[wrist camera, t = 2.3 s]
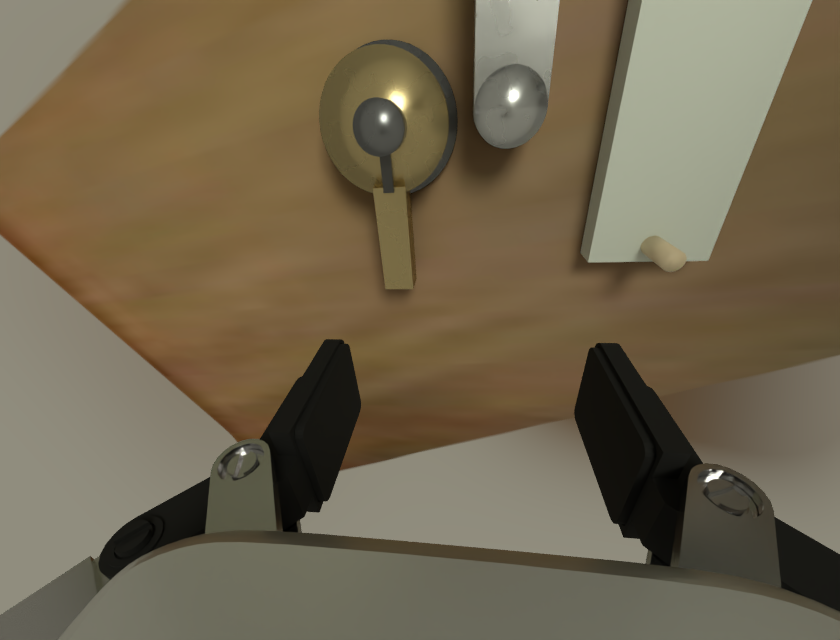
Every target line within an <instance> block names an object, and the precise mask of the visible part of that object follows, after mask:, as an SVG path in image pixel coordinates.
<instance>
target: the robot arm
mask: <svg viewBox="0 0 840 640" xmlns="http://www.w3.org/2000/svg"><path fill="white" fill-rule="evenodd" d="M360 409H361V400H360V395H359V390H358V385H357V380H356V376H355V371H354V366H353V361H352V356H351V352H350V347H349V345H348V344H344V341H343V340H333V339H326V340H325V341H324V342H323V344H322V345H321V347H320V349H319V350H318V352H317V353H316V355H315V357H314V358H313V360H312V362H311V363H310V365H309V367H308V368H307V370H306V371H305V373H304V375H303V376H302V377H300V378H298V379H297V381H296V382H295V384H294V385H293V387H292V388H291V390H290V392H289V393H288V395H287V397H286V398H285V400H284V401H283V403H282V405H281V406H280V408H279V409H278V411H277V413H276V414H275V416H274V417H273V419H272V421H271V422H270V424H269V425H268V427H267V429H266V430H265V432H264V433H263V435H262V437H261V438H260V440H259V439H248V440H244V441H240V442H238V443H236V444H234V445H232V446H230V447H229V448H228V449H226V450H225V451H224V452H223V453H222V454H221V455H220V456H219V457H218V458H217V459H216V461H215V462H214V464H213V467H212V470H211V475H210V477H209V478H207V479H206V480H204V481H202V482H200V483H198V484H196V485H195V486H193V487H191V488H189V489H187V490H185V491H184V492H182V493H180V494H178V495H176V496H174V497H173V498H171V499H169V500H167V501H165V502H163V503H162V504H160V505H158V506H156V507H154V508H153V509H151V510H149V511H147V512H145V513H144V514H141V515H140V516H138V517H136V518H134V519H133V520H131V521H130V522H128V523H127V524H125V525H124V526H123V527H122V528H121V529H119V530H118V531H117V532H116V533H115V534H114V535H113V536H112V538H111V539H110V540H109V541H108V542H107V544H106V545H105V547H104V549H103V551H102V552H101V554H100V556H99V557H97V558H96V559H93V558H92V557H91V556H90V557H88V558H86V559H85V560H83V561H82V562H81V563H79V564H77V565H76V566H74V567H73V568H71V569H70V570H68V571H67V572H65V573H64V574H62V575H61V576H59V577H58V578H56V579H55V580H53V581H51V582H50V583H49V584H47V585H45V586H44V587H42V588H41V589H39V590H38V591H36V592H35V593H33V594H32V595H30V596H29V597H27V598H26V599H24V600H23V601H21V602H20V603H18V604H17V605H15V606H13V607H12V608H10V609H9V610H7V611H6V612H4V613H3V614H1V615H0V640H840V554H838V553H836V552H835V551H833V550H831V549H829V548H827V547H826V546H824V545H822V544H821V543H819V542H817V541H815V540H814V539H812V538H810V537H809V536H807V535H805V534H803V533H802V532H800V531H798V530H796V529H795V528H793V527H791V526H789V525H788V524H786V523H784V522H782V521H781V520H779V519H777V518H776V517H774V511H773V508H772V505H771V502H770V500H769V499H768V497H767V496H766V495H765V493H764V492H763V491H762V490H761V489H760V488H759V487H758V486H757V485H756V484H755V483H754V482H752V481H751V480H749V479H748V478H746V477H745V476H744V475H742V474H740V473H738V472H736V471H734V470H732V469H730V468H727V467H723V466H720V465H717V464H708V463H705V464H703V463H702V461H701V460H700V458H699V457H698V455H697V454H696V452H695V451H694V449H693V448H692V446H691V445H690V443H689V442H688V440H687V439H686V437H685V436H684V434H683V433H682V431H681V430H680V428H679V427H678V426H677V424H676V423H675V421H674V420H673V418H672V417H671V415H670V414H669V412H668V411H667V409H666V408H665V406H664V405H663V403H662V402H661V400H660V399H659V397H658V396H657V394H656V393H655V392H654V390H653V389H652V388H650V387H648V386H646V384H645V383H644V381H643V380H642V378H641V377H640V375H639V374H638V372H637V371H636V369H635V368H634V366H633V364H632V363H631V361H630V360H629V358H628V357H627V355H626V354H625V352H624V351H623V349H622V348H621V346H620V345H619V344H617V343H598V344H596V346H595V348H590V349H589V352H588V356H587V360H586V364H585V368H584V372H583V377H582V381H581V385H580V389H579V393H578V397H577V401H576V406H575V412H574V413H575V420H576V423H577V425H578V428H579V431H580V434H581V437H582V440H583V442H584V446H585V448H586V451H587V454H588V456H589V460H590V462H591V465H592V468H593V471H594V474H595V476H596V479H597V482H598V485H599V488H600V490H601V493H602V496H603V499H604V502H605V505H606V507H607V510H608V513H609V516H610V518H611V520H612V522H613V523H615V524H619V527H620V529H621V532H622V535H623V537H624V538H637V539H640V541H641V543H642V545H643V546H645V547H646V548H647V549H648V553H647V559H646V564H641V563H632V562H623V561H613V560H603V559H592V558H581V557H571V556H561V555H550V554H539V553H529V552H519V551H508V550H497V549H485V548H475V547H463V546H453V545H441V544H430V543H419V542H408V541H395V540H384V539H372V538H361V537H349V536H337V535H325V534H312V533H302V531H301V524H300V519H301V518H303V517H304V516H305V514H306V511H308V512H320V509H321V506H322V504H323V501H328V500H329V498H330V496H331V493H332V490H333V487H334V484H335V481H336V478H337V476H338V473H339V470H340V467H341V464H342V461H343V458H344V456H345V453H346V450H347V447H348V444H349V441H350V438H351V436H352V433H353V430H354V427H355V424H356V421H357V418H358V416H359V413H360Z"/></svg>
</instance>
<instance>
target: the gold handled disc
mask: <svg viewBox="0 0 840 640" xmlns="http://www.w3.org/2000/svg"><path fill="white" fill-rule="evenodd" d="M319 122H320V130H321V135H322V139H323V142H324V145H325V148H326V150H327V152H328V154H329V156H330V158H331V160H332V162H333V163H334V165H335V166H336V167H337V169H338V170H339V171H340V173H341V174H342V175H343V176H344V177H345V178H346V179H348V180H349V181H350V182H351V183H353V184H354V185H356V186H357V187H359V188H361V189H363V190H365V191H368V192H371V193H373V195H374V203H375V210H376V218H377V226H378V234H379V242H380V250H381V258H382V266H383V273H384V281H385V289H413V288H414V285H415V281H416V265H415V252H414V238H413V224H412V211H411V197H410V190H412V189H414V188H415V187H417V186H419V185H420V184H421V183H422V182H424V181H425V180H426V179H427V178H428V177H429V176H430V175H431V174H432V172H433V171H434V170H435V168H436V167H437V165H438V163H439V161H440V159H441V157H442V155H443V153H444V150H445V148H446V144H447V141H448V135H449V123H450V121H449V110H448V105H447V101H446V98H445V95H444V92H443V90H442V88H441V85H440V84H439V82H438V80H437V79H436V77H435V76H434V75H433V73H432V72H431V71H430V69H429V68H428V67H427V66H426V65H425V64H424V63H423V62H422V61H421V60H420V59H418V58H417V57H416V56H414V55H413V54H411V53H410V52H408V51H406V50H404V49H402V48H399V47H396V46H393V45H386V44H373V45H368V46H364V47H361V48H358V49H356V50H354V51H353V52H351V53H349V54H348V55H346V56H345V57H344V58H343V59H342V60H341V61H340V62H339V63H338V64H337V65H336V66H335V67H334V69H333V70H332V72H331V73H330V75H329V77H328V79H327V81H326V83H325V86H324V89H323V92H322V96H321V100H320V109H319Z"/></svg>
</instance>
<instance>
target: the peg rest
mask: <svg viewBox="0 0 840 640" xmlns="http://www.w3.org/2000/svg"><path fill="white" fill-rule="evenodd" d="M811 3H812V0H628V6H627V11H626V16H625V21H624V27H623V32H622V37H621V42H620V47H619V53H618V58H617V63H616V68H615V74H614V79H613V84H612V89H611V95H610V100H609V105H608V110H607V115H606V121H605V126H604V131H603V136H602V142H601V147H600V152H599V157H598V163H597V168H596V173H595V178H594V184H593V189H592V194H591V199H590V204H589V210H588V215H587V220H586V225H585V231H584V236H583V241H582V246H581V252H580V253H581V254H582V256H583V257H584V258H585V259H586V261H587V262H654V263H656V264H657V265H658V266H659V267H661V268H662V269H663V270H664V271H667V272H674V271H677V270H679V269H680V268H682V267H683V266H684V264H685V263H686V261H708V260H709V257H710V255H711V252H712V250H713V247H714V245H715V242H716V240H717V237H718V235H719V232H720V230H721V227H722V225H723V222H724V220H725V217H726V215H727V212H728V210H729V207H730V205H731V202H732V200H733V197H734V195H735V192H736V190H737V187H738V185H739V182H740V180H741V177H742V175H743V172H744V170H745V167H746V165H747V162H748V160H749V157H750V155H751V152H752V150H753V147H754V145H755V142H756V140H757V137H758V135H759V132H760V130H761V127H762V125H763V122H764V120H765V118H766V115H767V113H768V110H769V108H770V105H771V103H772V100H773V98H774V95H775V93H776V90H777V88H778V85H779V83H780V80H781V78H782V75H783V73H784V70H785V68H786V65H787V63H788V60H789V58H790V55H791V53H792V50H793V48H794V45H795V43H796V40H797V38H798V35H799V33H800V30H801V28H802V25H803V23H804V20H805V18H806V15H807V13H808V10H809V8H810V5H811Z"/></svg>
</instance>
